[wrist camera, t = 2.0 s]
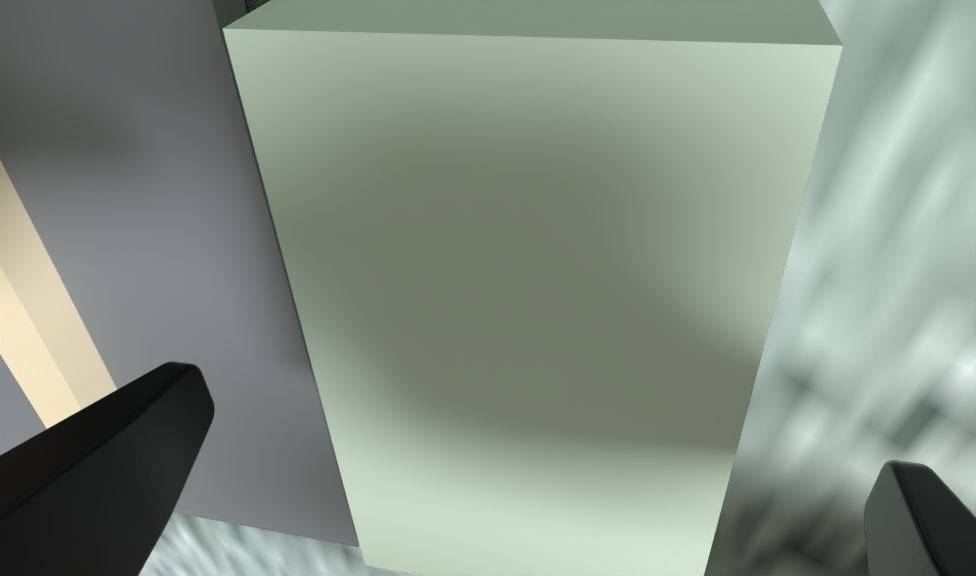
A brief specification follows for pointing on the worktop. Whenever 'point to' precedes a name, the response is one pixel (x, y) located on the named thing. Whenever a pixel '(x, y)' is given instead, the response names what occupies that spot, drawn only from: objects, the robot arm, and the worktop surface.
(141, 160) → the cleat board
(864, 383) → the worktop surface
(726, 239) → the cabinet block
